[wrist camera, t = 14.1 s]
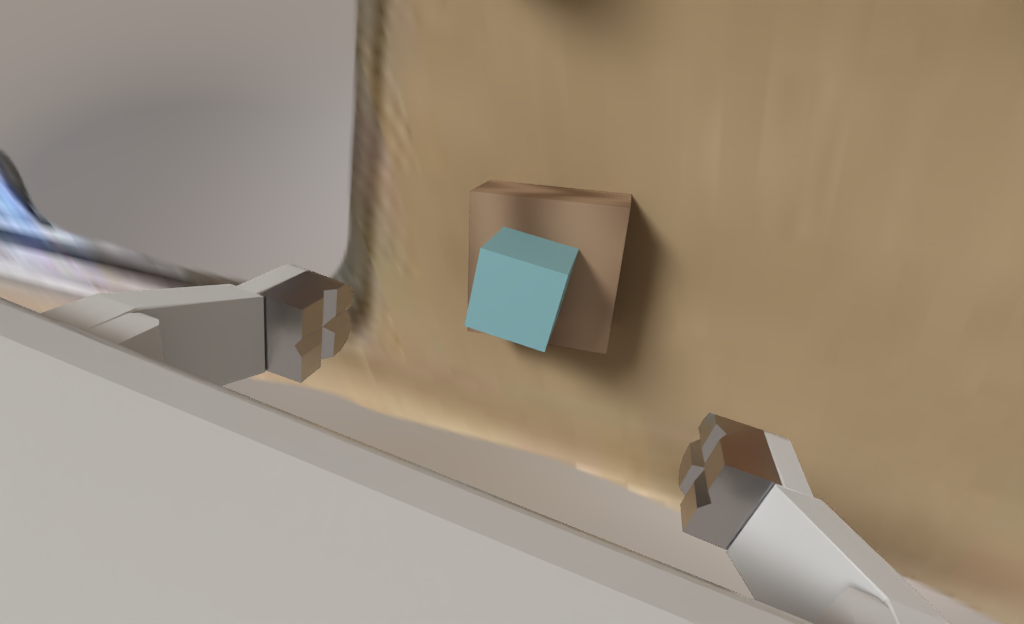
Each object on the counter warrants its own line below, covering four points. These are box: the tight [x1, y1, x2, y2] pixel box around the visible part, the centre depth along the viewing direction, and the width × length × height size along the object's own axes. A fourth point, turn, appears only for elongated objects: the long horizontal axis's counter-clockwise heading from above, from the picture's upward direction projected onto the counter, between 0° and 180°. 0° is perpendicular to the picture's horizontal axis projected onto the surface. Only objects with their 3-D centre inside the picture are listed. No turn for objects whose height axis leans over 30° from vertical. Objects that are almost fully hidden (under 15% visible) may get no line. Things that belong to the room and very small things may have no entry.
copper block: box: [467, 180, 631, 354], centre depth 33 cm, size 10×10×5 cm
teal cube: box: [465, 227, 579, 352], centre depth 28 cm, size 5×5×5 cm
